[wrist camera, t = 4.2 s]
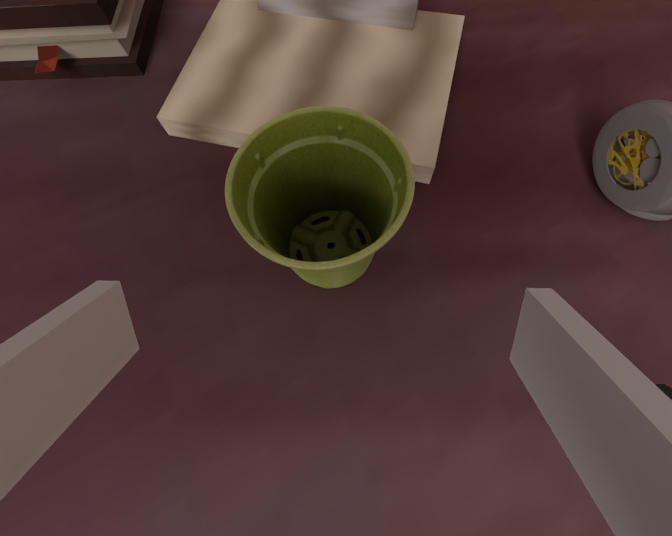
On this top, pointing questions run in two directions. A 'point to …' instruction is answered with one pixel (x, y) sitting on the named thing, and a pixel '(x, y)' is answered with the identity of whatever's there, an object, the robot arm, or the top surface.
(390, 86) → the shelf board
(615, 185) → the pocket watch
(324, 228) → the plant pot
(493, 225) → the top surface
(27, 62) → the decorative book
